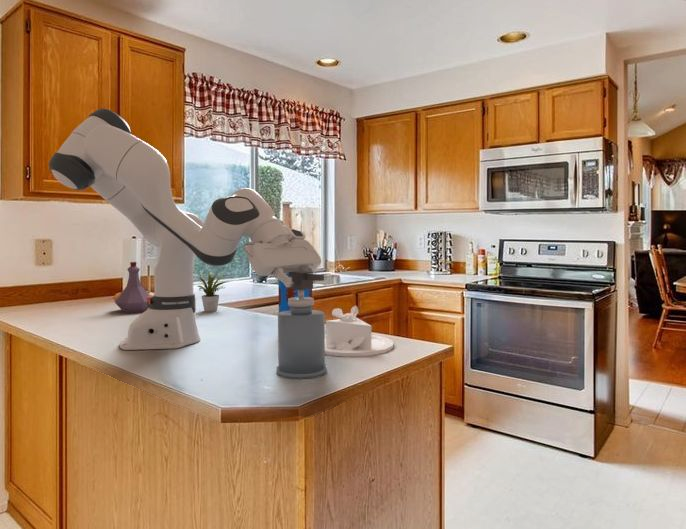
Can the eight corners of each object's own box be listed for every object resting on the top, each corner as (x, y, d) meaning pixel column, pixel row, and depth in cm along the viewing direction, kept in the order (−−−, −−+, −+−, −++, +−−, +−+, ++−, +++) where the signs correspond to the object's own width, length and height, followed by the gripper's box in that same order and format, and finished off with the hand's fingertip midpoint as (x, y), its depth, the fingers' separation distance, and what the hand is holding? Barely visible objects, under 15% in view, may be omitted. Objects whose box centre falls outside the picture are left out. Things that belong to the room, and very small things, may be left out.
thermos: (307, 337, 158) (306, 257, 156) (274, 335, 160) (273, 256, 158) (315, 330, 169) (315, 255, 167) (285, 329, 171) (284, 254, 169)
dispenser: (265, 372, 120) (264, 299, 119) (300, 362, 130) (299, 293, 128) (303, 382, 113) (302, 304, 111) (337, 370, 122) (336, 298, 121)
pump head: (289, 298, 119) (288, 271, 119) (300, 296, 123) (300, 270, 122) (316, 301, 114) (316, 273, 114) (327, 299, 117) (327, 272, 117)
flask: (163, 310, 210) (162, 261, 208) (124, 315, 197) (122, 264, 196) (144, 306, 221) (142, 260, 219) (106, 311, 208) (104, 262, 207)
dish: (291, 345, 150) (291, 307, 149) (357, 333, 165) (357, 299, 164) (342, 362, 130) (342, 319, 129) (411, 348, 145) (411, 309, 145)
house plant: (211, 315, 198) (210, 273, 196) (184, 312, 204) (183, 272, 202) (234, 309, 211) (233, 270, 209) (208, 307, 216) (207, 269, 215)
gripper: (246, 232, 115) (277, 278, 109) (307, 231, 131) (337, 271, 126) (234, 252, 118) (263, 297, 113) (294, 248, 134) (323, 288, 129)
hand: (303, 283), depth 119 cm, fingers open, 7 cm apart
